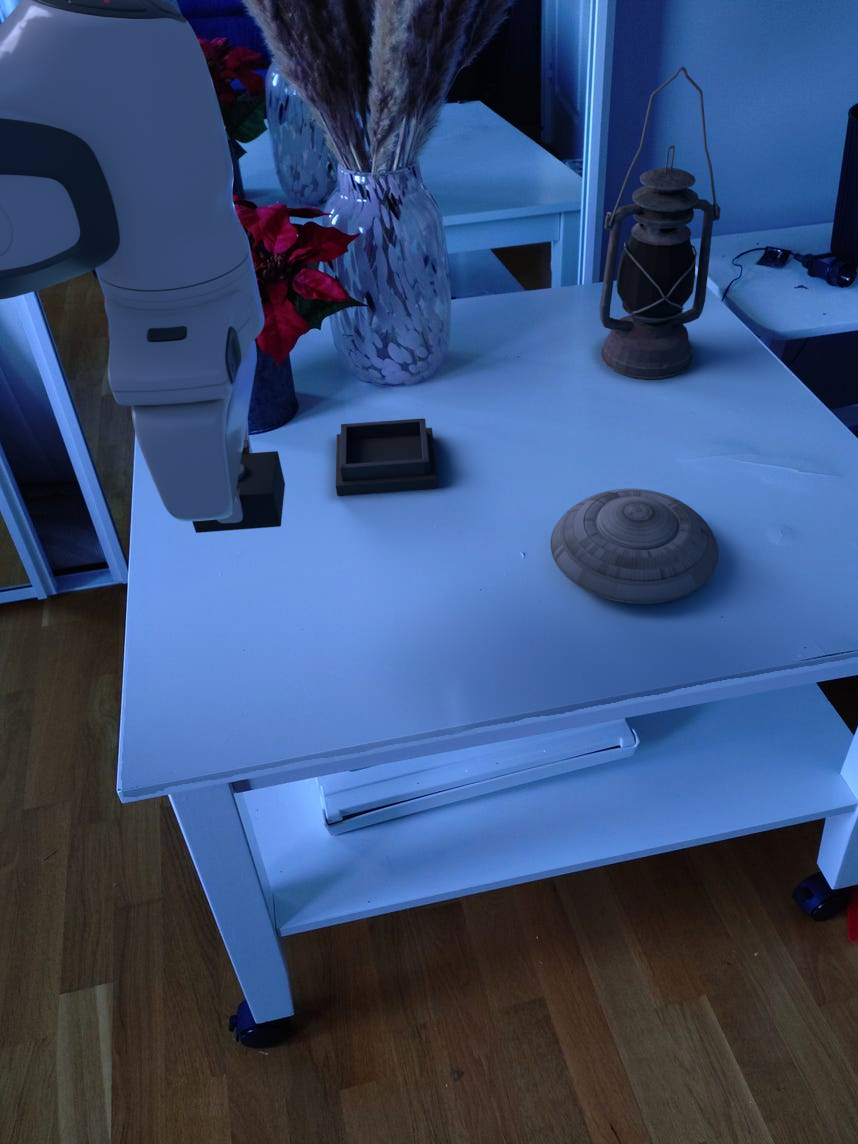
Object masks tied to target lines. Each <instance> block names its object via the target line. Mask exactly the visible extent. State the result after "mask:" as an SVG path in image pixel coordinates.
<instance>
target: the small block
mask: <svg viewBox="0 0 858 1144" xmlns="http://www.w3.org/2000/svg"><path fill="white" fill-rule="evenodd" d="M280 459H281V458H280V455H279V451H278V450H274V451H273V450H272V451H260V452H252V453H245V454H242V457H241V463H240V469H239V476H238V482H237V489H239V488H240V490H241V494H242V499H243V502H244V512H243V518H242V520H241V521H240V522H236V523H220V522H218V521H217V519H215V520H205V521H191V522H192V525H193V528H194V531H195V533H196V534H201V533H213V532H214V533H215V532H225V531H226V532H227V531H239V530H252V529H267V528H279V527H281V526H282V519H283V509H284V498H285V488H286V482H285V478H284V474H283V468H282V463H281V460H280Z"/></svg>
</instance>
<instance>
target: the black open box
mask: <svg viewBox="0 0 858 1144" xmlns="http://www.w3.org/2000/svg"><path fill="white" fill-rule="evenodd" d="M426 422H427V421H426V418H410V419H409V418H408V419H395V420H380V421H367V422H352V423H340V433H337V434H336V444H335V445H336V446H335V448H336V451H335V455H336V456H335V490H336V491H335V492H336V495H337V496H347V495H349V496H350V495H362V494H375V493H388V492H391V493H392V492H403V491H415V490H428V489H431V490H432V489H438V488H439V485H438V473H437V463H436V455H435V453H436V452H435V443H434V433H433V427H427V423H426Z"/></svg>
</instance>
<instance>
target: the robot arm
mask: <svg viewBox="0 0 858 1144" xmlns="http://www.w3.org/2000/svg"><path fill="white" fill-rule="evenodd" d="M226 132H227V131H226V128H225V123H224V120H223V116H222V112H221V107H220V103H219V100H218V96H217V93H216V88H215V85H214V82H213V79H212V76H211V73H210V70H209V66H208V63H207V60H206V57H205V55H204V52H203V49H202V47H201V44H200V42H199V39H198V37H197V35H196V33H195V31H194V29H193V27H192V25H191V24H190V22H189V21H188V20H187V19H186V17H184V16H183V14H181V12H180V11H178V9H177V8H175V6H174V5H172V3H170V2H168V1H167V0H19V2H17V4H16V6H15V8H14V9H13V10H12V11H11V12H10V13H9V14H8V16H7V17H6V18H5V19H4V20H3V21H2V22H1V24H0V300H6V299H11V298H16V297H17V298H18V297H20V296H24V295H28V294H29V293H33V292H37V291H40V290H44V289H46V288H49V287H52V286H55V285H58V284H61V283H64V282H67V281H69V280H71V279H75V278H77V277H79V276H82V275H84V274H86V273H89V272H91V271H93V270H95V273H96V277H97V279H98V283H99V286H100V288H101V291H102V294H103V297H104V310H105V313H106V314H105V315H106V317H107V321H108V331H109V338H108V358H107V359H108V360H107V379H108V384H109V387H110V391H111V392H112V396H113V398H114V400H115V402H116V403H117V404H118V405H119V406H130V407H131V408H130V409H131V418H132V419H131V420H132V425H133V430H134V433H135V437H136V439H137V440H136V441H137V443H138V446H139V448H140V451H141V454H142V457H143V459H144V461H145V465H146V467H147V469H148V472H149V475H150V477H151V479H152V481H153V483H154V486H155V488H156V491H157V493H158V495H159V497H160V500H161V502H162V505H163V506H164V508H165V509H166V512H168V514H170V515H171V516H172V517H173V518H174V519H176V520H177V521H179V522H186V523H187V522H192V521H205V520H215V519H217V521H218V522H220V523H236V522H240V521H241V520H242V518H243V512H244V502H243V499H242V494H241V490H240V488H239V489H237V482H238V476H239V469H240V463H241V457H242V454H245V453H253V449H252V444H251V440H250V436H249V435H250V434H249V433H250V432H249V420H248V419H249V411H250V406H251V400H252V399H251V398H252V392H253V386H254V380H255V375H256V369H257V368H256V367H257V362H258V361H257V360H258V353H257V352H258V351H257V343H256V339H257V338H258V337H259V335H260V334H261V332H262V331H263V329H264V327H265V326H264V325H265V321H266V320H265V313H264V308H263V304H262V299H261V294H260V290H259V285H258V279H257V274H256V271H255V265H254V261H253V256H252V251H251V246H250V241H249V237H248V235H247V233H246V230H245V228H244V227H243V225H242V222H241V221H240V219H239V216H238V213H237V212H236V209H235V204H234V197H233V187H234V185H233V184H234V166H233V160H232V156H231V155H232V154H231V150H230V145H229V142H228V136H227V133H226Z"/></svg>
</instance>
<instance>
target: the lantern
mask: <svg viewBox="0 0 858 1144" xmlns="http://www.w3.org/2000/svg"><path fill="white" fill-rule="evenodd" d="M681 71H682V72H683V75H684V78H685V79H686V80H687V81H688V83H690V84H691V85H692V86H693V87H694V89H696V91H697V92H698V94H699V103H700V115H701V128H702V137H703V138H702V139H703V150H704V154H705V157H706V161H707V165H708V169H709V178H710V184H711V194H712V201H713V202H712V203H711V202H709V201H708V200H707V199H705V198H703V199H702V198H699V195H698V192H696V191H694V190H693V189H692V188H691V187H693V186H694V185H695V183H696V181H697V180H696V178H695V176H694V175H693V174H692V173H691V172H688V171H687V170H684V169H681V168H678V167H677V168H675V167H674V160H675V150H676V146H675V145H674V144H673V145H670V146H669V147H668V148H667V150H666V158H665V166H664V167H656V168H652V169H649V170H647V171H645V172H642V174H641V175H639V181H640V183H641V184H642V185H643V186H641V187H638V188H636V189H635V191H634V192H633V193H632V196H631V197H632V201H633V202H634V203H630V204H626V205H622V206H620V207H619V205H620V203H621V199H622V196H623V194H624V191H625V189H626V186H627V183H628V181H629V178H630V175H631V172H632V170H633V168H634V166H635V164H636V162H637V160H638V158H639V156H640V154H641V151H642V149H643V146H644V142H645V137H646V132H647V127H648V122H649V119H650V113H651V110H652V104H653V99H654V97H655V95H657V94H658V93H659V92H660V91H661V90H663V89H664V88H665V87H666V86H667V85H668V84H670V83H671V82H673V80H675V79H676V78H677V77H678V75H679V73H680V72H681ZM703 93H704V92H703V90H702V89H701V87H699V85H698V84H697V83H696V82H695V81H694V80H693V79H692V77H690V76H689V74H688V70H687V69H686V68H685V66H681V67H678V68H677V70H676V72H675V73H674V75H672V76H671V77H670V78H669V79H667V80H666V81H665V82H664V83H662V85H660V86H659V87H658V88H656V89H655V90H654V91H653V92H652V93H651V95H650V98H649V101H648V106H647V111H646V115H645V121H644V124H643V130H642V135H641V139H640V143H639V148H638V150H637V152H636V154H635V156H634V158H633V159H632V162H631V165H630V167H629V169H628V171H627V174H626V176H625V179H624V181H623V184H622V187H621V189H620V193H619V195H618V198H617V201H616V203H615V207H614V209H613V211H612V212H611V211H607V212H606V215H605V219H604V229H605V230H606V231H609V238H608V244H607V253H606V259H605V265H604V266H605V267H604V273H603V281H602V288H601V295H600V301H599V320H600V322H601V325H602V326H603V328H605V329H608V330H610V332H609V334H608V336H607V337H606V338H605V339H604V342H603V346H602V348H601V350H600V351H601V352H600V357H601V360H602V362H603V364H605V366H606V367H608V368H609V369H610V370H611V371H613V372H615V373H617V374H620V375H621V376H625V377H628V378H633V379H638V380H662V379H666V378H667V379H668V378H672V377H675V376H677V375H680V374H682V373H683V372H685V371H687V370H688V369H689V367H690V366H691V365H692V362H693V353H692V348H693V347H692V345H691V342H690V341H689V332H688V328H687V327H686V326H685V324H689V323H692V322H694V321H696V320H699V318H700V317H701V315H702V313H703V311H704V307H705V303H706V297H707V288H708V276H709V266H710V256H711V246H712V236H713V226H714V222H716V221H719V220H720V219H721V207H720V206H719V204H718V202H717V197H716V189H715V180H714V173H713V172H714V171H713V165H712V161H711V158H710V154H709V150H708V145H707V143H708V142H707V131H706V120H705V107H704V95H703ZM670 150H672V152H671V159H670V160H671V161H670V167H668V165H669V156H670ZM694 210H700V211H702V212H703V213H702V214H703V215H702V216H703V218H702V227H701V228H702V229H701V236H700V246H699V255H697V254H698V252H697V250H696V246H694V244H692V242H691V236H692V231H691V228H690V227H689V226H687V225H688V224H690V223H691V222H693V219H694V217H695V211H694ZM629 216H633V219H634V220H635V222H636V221H637V223H635V224H634V226H633V227H631V235H630V237H629V239H628V241H626V242H624V243H623V246H624V247H623V250H622V251H621V253H620V257H619V263H618V267H617V274H616V285H615V286H616V293H617V295H618V297H619V298H620V301H621V302H622V303H621V307H622V309H623V310H624V312H625V313H627V314H628V315H626V316H622V317H620V318H619V319H617V318H614V317H611V306H612V298H613V297H612V296H613V290H614V283H615V282H614V281H615V273H616V266H617V257H618V250H619V243H620V235H621V228H622V223H623V220H625V219H626V218H627V217H629ZM697 256H698V262H697ZM696 263H698V264H696ZM696 265H697V266H696ZM696 267H697V273H696ZM695 280H696V281H695ZM694 286H695V287H694ZM694 288H695V289H694ZM694 290H695V291H694ZM693 293H694V298H693V302H692V307H691V308H690V309H688V310H686V311H684V312H683V310H684V305H685V304H686V303H687V302H688V300H689V299H690V297H691V296H692V295H693Z"/></svg>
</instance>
